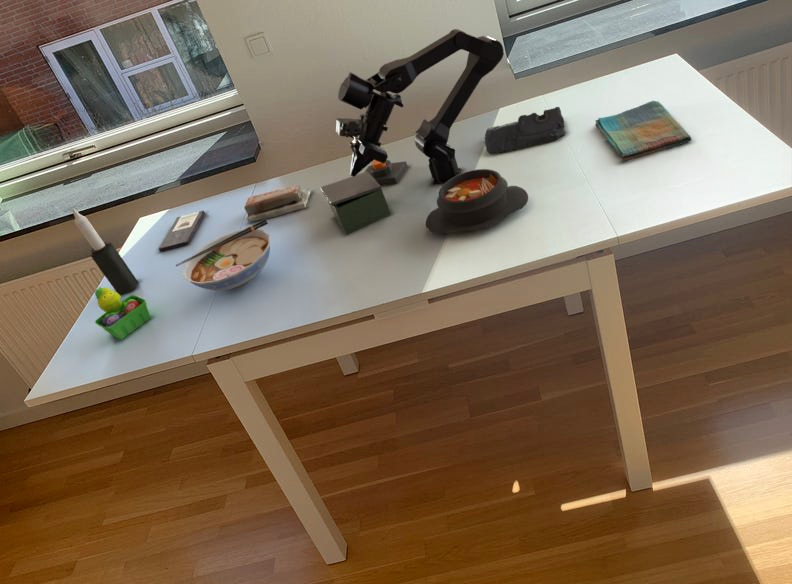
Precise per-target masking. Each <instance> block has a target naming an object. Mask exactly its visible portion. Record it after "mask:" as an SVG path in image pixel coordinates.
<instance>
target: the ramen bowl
mask: <svg viewBox="0 0 792 584" xmlns="http://www.w3.org/2000/svg"><path fill="white" fill-rule="evenodd" d="M268 225H269V222H268V221H267V218H265V219H261V220H259V221H258V222H255V223H253V224H252V225H251V226H248V227H246V228H244V229H241V230H236V231H234V232H233V231H232V232H231V233H228V234H225V235H222V236H220V237H218V238H216V239H214V240H213V241H211V242H209V243H207V244H206V245H204V246H202V247H201V248H200V249H199V250H198V251H197V252H195V253H194V254H193V255H192V256H190V257H188V258H187V259H184V260H182V261H181V262H178V263H177V264H176V267H178V266H180V265H183V264H185V263H186V264H185V265H184V267H183V268H184V269H183V274H182V275H183V277H184V278H185V279H186V280H187V281H188V282H189V283H191V284H192V285H194V286H196V287H198V288H201V289H206V290H209V291H210V290H211V291H216V292H220V291H221V292H222V291H226V290H232V289H235V288H238V287H240V286H243V285H245V284H247V283H248V282H250V281H251V280H253V279H254V278H255V277H256V276H257V275H259V273H261V271H263V269H264V267H265V266H266V264H267V263H268V260H269V257H270V252H271V236H270V234H269V233H268V232H267V231H265V230H264V229H260V228H263V227H264V226H268Z"/></svg>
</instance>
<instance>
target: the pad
mask: <svg viewBox="0 0 792 584" xmlns="http://www.w3.org/2000/svg"><path fill="white" fill-rule="evenodd" d="M385 163H386V166H385V167H384V168H382V169H379V170H374V168H373V165H372V164H370V165H368V166H367V168H366V169H365V170H364V172H368V173H369V174H370V175H371V176H372V177H373V178H374V179H375V180H376V182H377V183H378V184H379V185H380V186H382V185H383V186H385V185H393V184H397V183H399V181H400V180H401V178H402V176H403V175H404V174H405V172H406V171H407V170H408V168H409V165H408V163H407V161H398V162H391V160H389V159H387V160H386V162H385Z"/></svg>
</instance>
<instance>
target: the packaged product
mask: <svg viewBox="0 0 792 584" xmlns="http://www.w3.org/2000/svg"><path fill="white" fill-rule="evenodd" d="M311 193H312V191H311V189H310V188H306V189H302V190H301V185H300V184H295V185H291V186H288V187H283V188H278V189H275V190H270V191H267V192H264V193H258V194H255V195H252V196H249V197H248V198H247V200H246V202H245V204H244V207H243V209H244V210H245V212H246V214H247V217H246V221H247V223H253V222H256V221H261V220H263V219H268V218H269V219H270V218H275V217H279V216H281V215H284V214H288V213H291V212H295V211H299V210H303V209H307V208H306V207H307V204H308V201H309V198H310V195H311Z"/></svg>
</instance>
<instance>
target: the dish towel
mask: <svg viewBox="0 0 792 584" xmlns="http://www.w3.org/2000/svg"><path fill="white" fill-rule="evenodd" d="M594 125H595V127H596V129H598V131H599V132H600V133H601V134H602V135H603V136H604V138H605V139H606V140H607V142H609V144H610V145H611V146H612V147H613V148H614V150H615V152H616V153H617V154H618V156H619V157H620V158H621V160H622V161H623V162H625V161H628V160H631V159H634V158H638V157H641V156H645V155H649V154H651V153H654V152H658V151H662V150H666V149H669V148H673V147H677V146H678V145H679V146H680V145H683V144H687V143H689V142H691V141H692V137H691V136H690V134H689V133H688V132H687V131H686V130H685V128H684V127H683V126H682V125H681V124H680V123H679V122H678V121H677V120H676V119H675V117H673V115H671V113H670V112H669V111H668V110H667V109H666V107H664V105H663V104H662V103H661V102H660V101H659V100H651V101H648V102H646V103H644V104H642V105H638V106H637V107H633V108H631V109H627V110H625V111H623V112H620V113H617V114H613V115H609V116H603V117H598V118H597V119H595V124H594Z"/></svg>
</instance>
